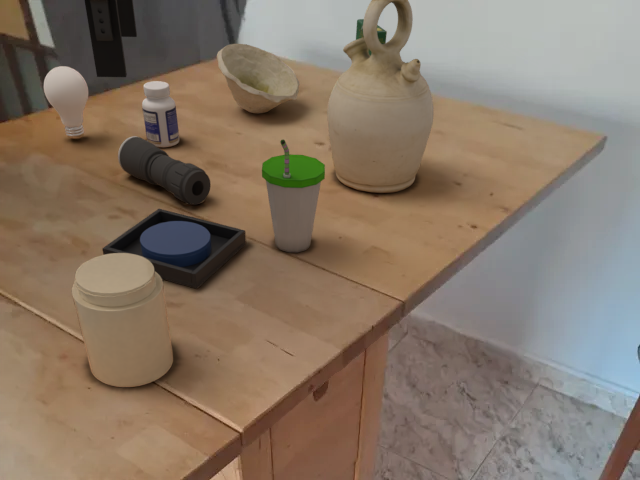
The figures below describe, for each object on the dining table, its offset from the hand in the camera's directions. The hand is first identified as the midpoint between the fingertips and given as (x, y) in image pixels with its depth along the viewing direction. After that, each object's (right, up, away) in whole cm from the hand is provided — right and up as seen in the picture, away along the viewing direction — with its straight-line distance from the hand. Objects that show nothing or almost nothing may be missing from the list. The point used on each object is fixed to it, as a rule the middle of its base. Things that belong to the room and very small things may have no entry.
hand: (118, 55), depth 71 cm
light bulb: (-20, +9, +43) cm, 48 cm away
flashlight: (-2, -3, +31) cm, 31 cm away
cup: (+17, -14, +20) cm, 30 cm away
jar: (+1, -32, 0) cm, 32 cm away
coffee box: (+30, +24, +61) cm, 72 cm away
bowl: (+10, +20, +56) cm, 60 cm away
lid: (+3, -15, +15) cm, 22 cm away
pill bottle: (-5, +9, +43) cm, 44 cm away
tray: (+3, -16, +17) cm, 24 cm away
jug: (+29, 0, +36) cm, 46 cm away
